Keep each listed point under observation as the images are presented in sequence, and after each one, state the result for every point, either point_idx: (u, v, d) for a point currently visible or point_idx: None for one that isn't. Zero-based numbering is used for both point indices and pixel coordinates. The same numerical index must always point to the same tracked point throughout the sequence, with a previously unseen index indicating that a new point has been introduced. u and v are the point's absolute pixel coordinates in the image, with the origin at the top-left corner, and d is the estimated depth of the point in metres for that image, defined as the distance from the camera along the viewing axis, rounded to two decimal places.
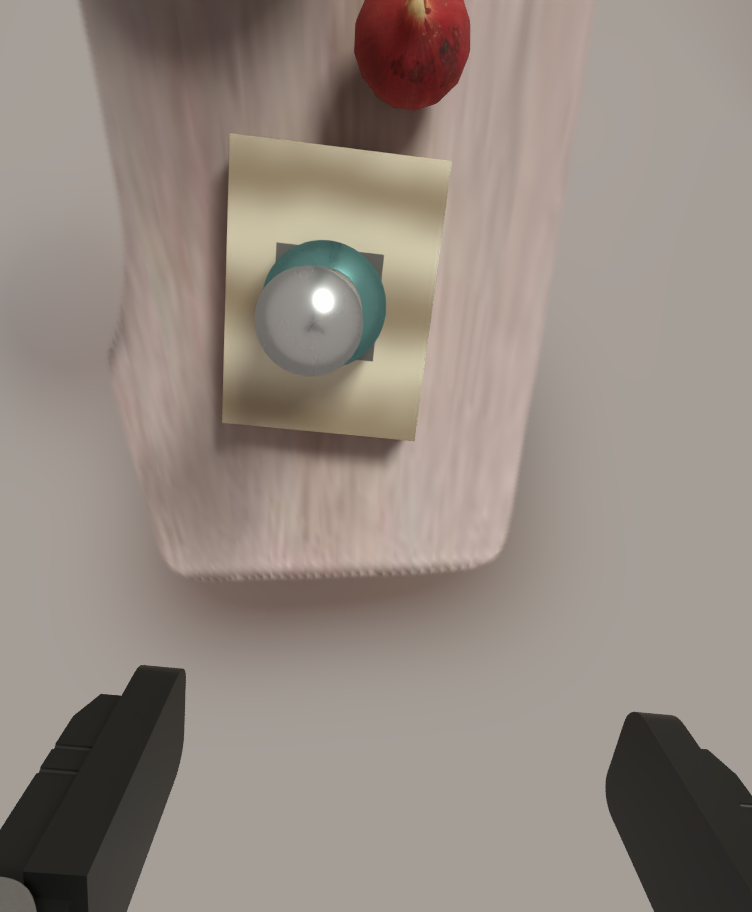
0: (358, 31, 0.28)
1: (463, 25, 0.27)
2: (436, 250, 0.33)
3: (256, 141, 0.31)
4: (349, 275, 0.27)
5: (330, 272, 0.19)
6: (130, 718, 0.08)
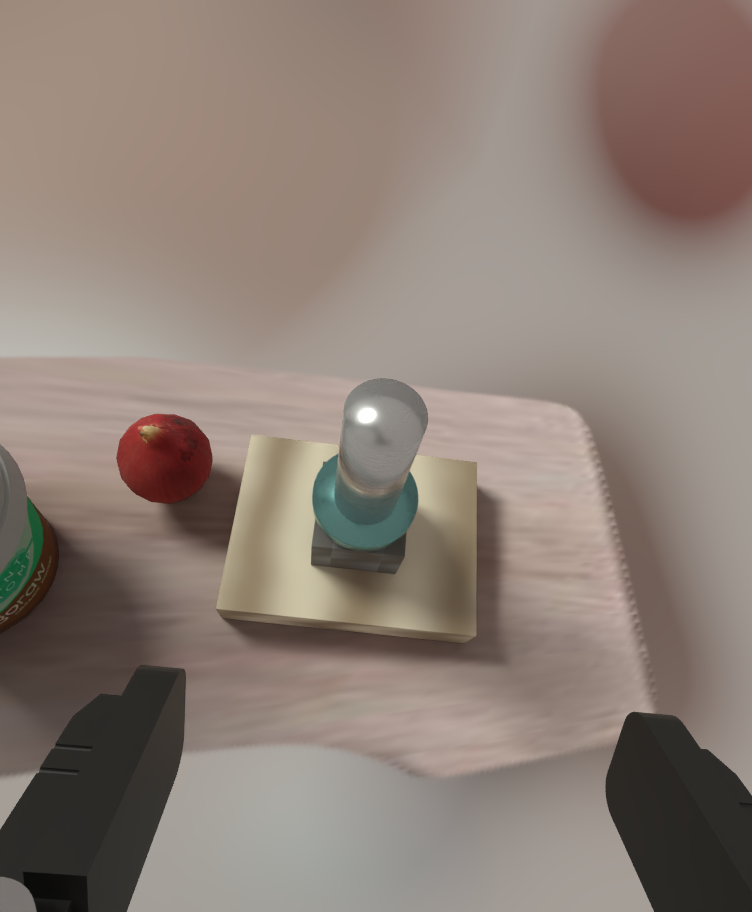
0: (155, 490, 0.35)
1: (162, 414, 0.37)
2: (317, 445, 0.40)
3: (224, 585, 0.35)
4: None
5: (348, 397, 0.24)
6: (130, 718, 0.08)
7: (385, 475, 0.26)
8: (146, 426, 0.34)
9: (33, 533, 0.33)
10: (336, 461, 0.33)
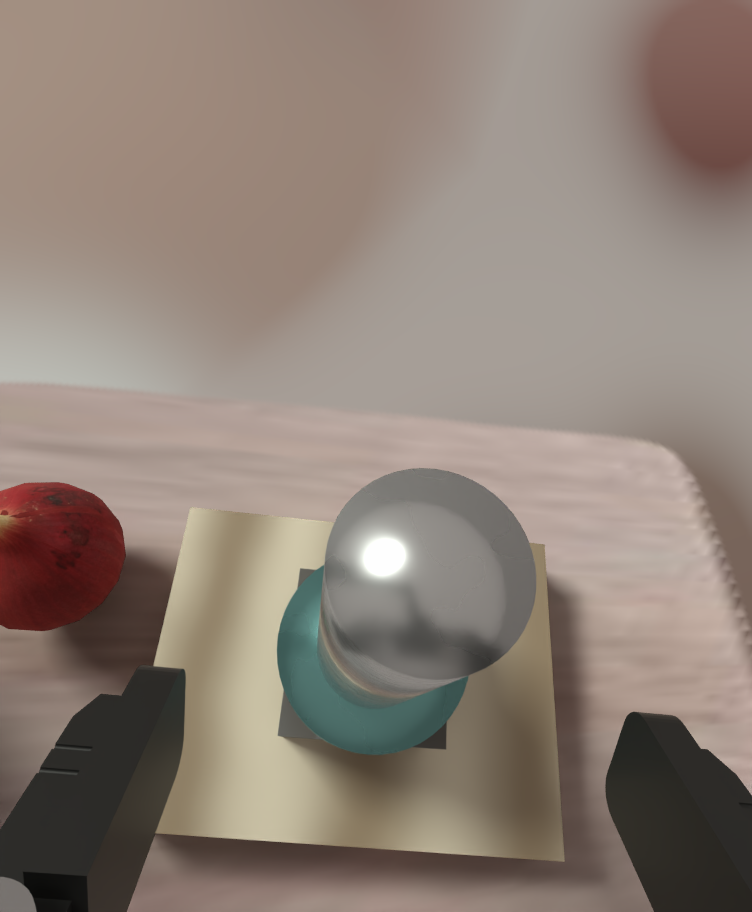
0: (15, 619, 0.21)
1: (35, 484, 0.22)
2: (295, 522, 0.25)
3: None
4: None
5: (337, 522, 0.10)
6: (130, 718, 0.08)
7: (427, 689, 0.11)
8: None
9: None
10: (321, 580, 0.18)
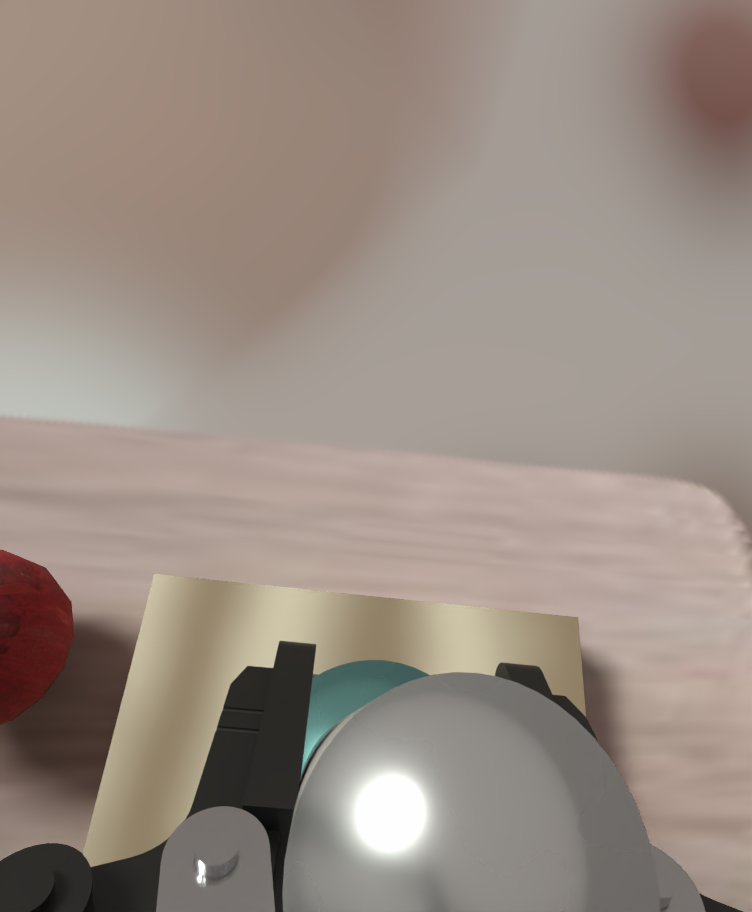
0: None
1: None
2: (280, 592, 0.21)
3: None
4: (315, 737, 0.14)
5: (307, 790, 0.06)
6: (287, 684, 0.09)
7: None
8: None
9: None
10: None
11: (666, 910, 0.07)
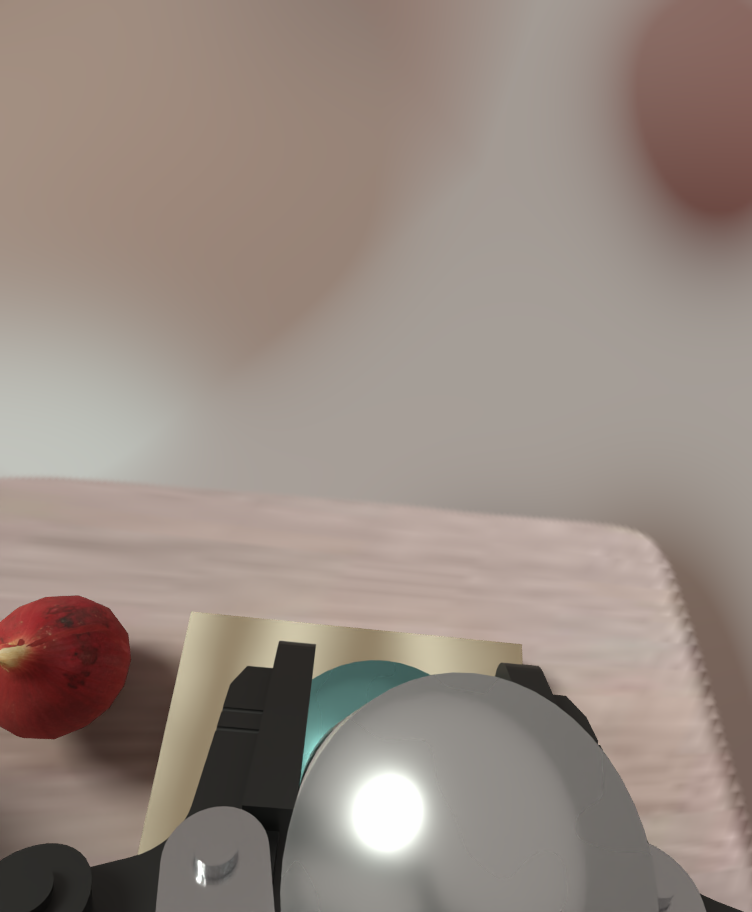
0: (30, 733, 0.23)
1: (48, 602, 0.24)
2: (288, 625, 0.27)
3: None
4: (316, 737, 0.14)
5: (305, 790, 0.06)
6: (287, 684, 0.09)
7: None
8: (5, 649, 0.21)
9: None
10: None
11: (667, 910, 0.07)
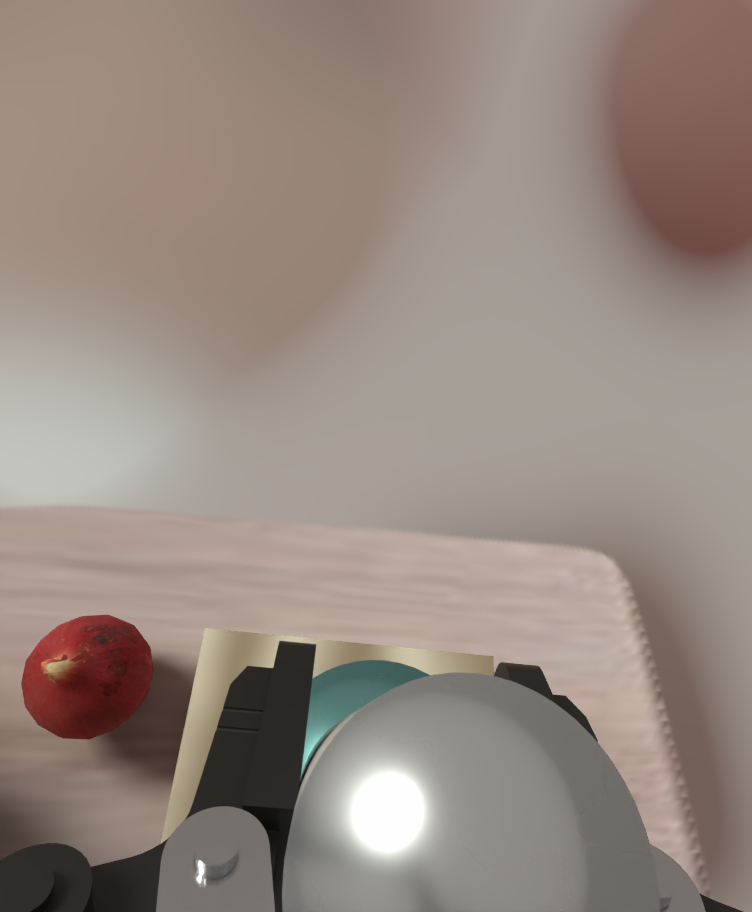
0: (70, 734, 0.27)
1: (84, 621, 0.28)
2: (289, 640, 0.31)
3: None
4: (315, 737, 0.14)
5: (307, 791, 0.06)
6: (287, 684, 0.09)
7: None
8: (52, 663, 0.25)
9: None
10: None
11: (666, 910, 0.07)
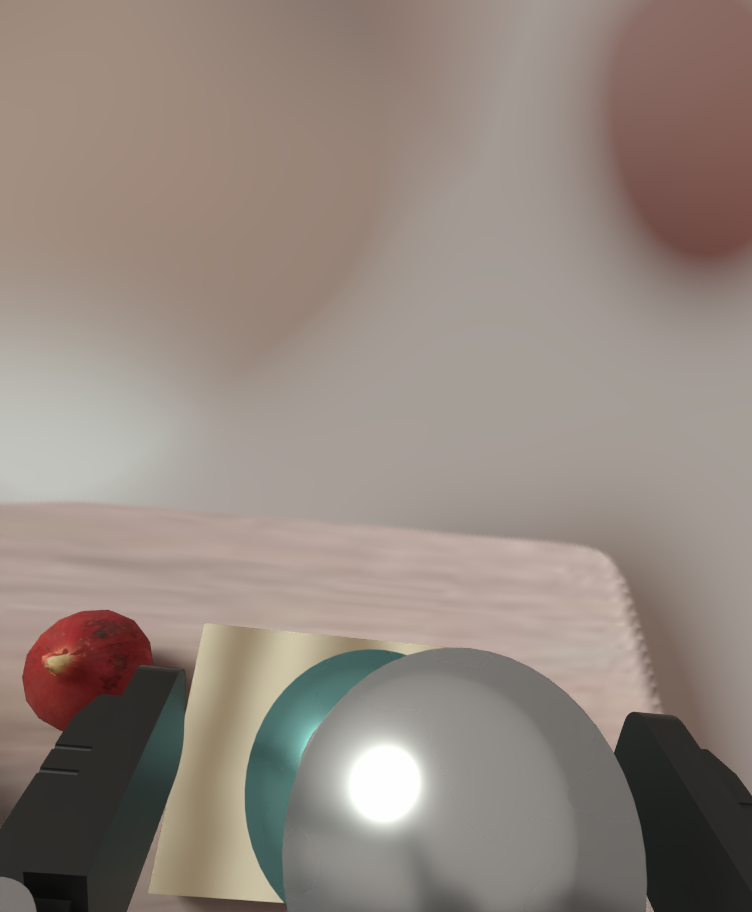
0: None
1: (84, 616, 0.28)
2: (288, 635, 0.32)
3: (161, 856, 0.27)
4: (314, 725, 0.14)
5: (306, 758, 0.06)
6: (130, 718, 0.08)
7: None
8: (53, 657, 0.25)
9: None
10: (304, 690, 0.14)
11: None
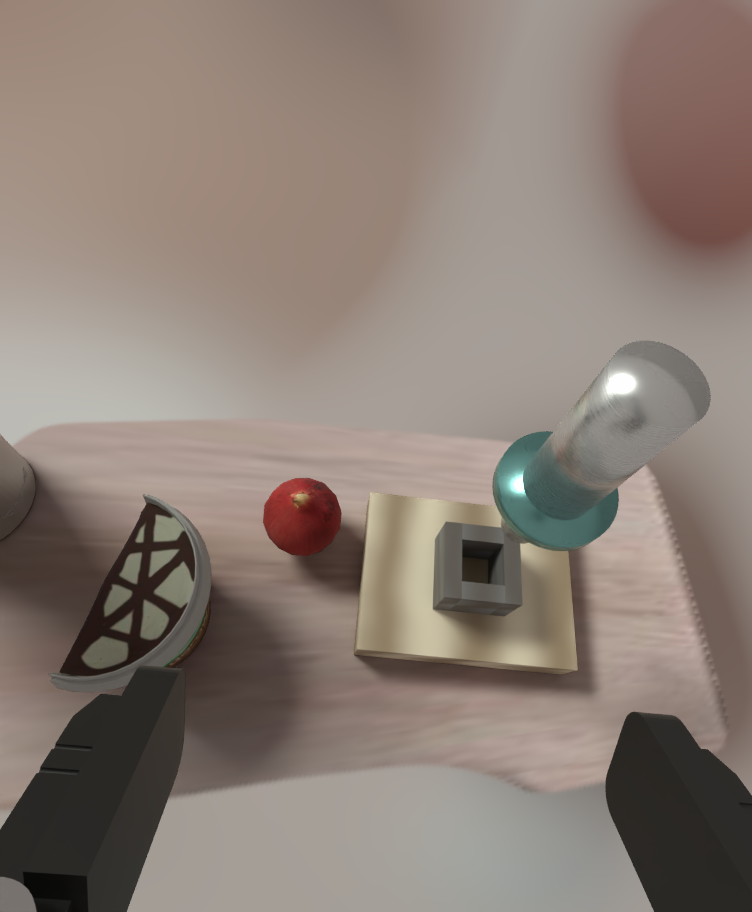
0: (300, 547, 0.41)
1: (301, 479, 0.43)
2: (427, 501, 0.46)
3: (362, 628, 0.41)
4: (526, 462, 0.28)
5: (612, 363, 0.20)
6: (130, 718, 0.08)
7: (643, 458, 0.21)
8: (298, 494, 0.40)
9: None
10: (519, 447, 0.29)
11: None
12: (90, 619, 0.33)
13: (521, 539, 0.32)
